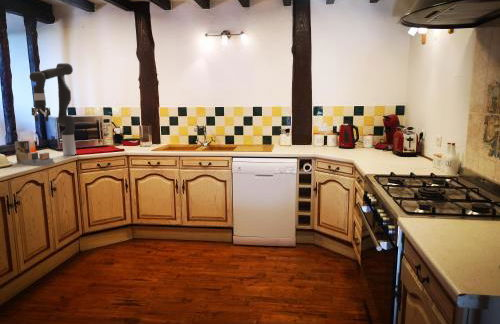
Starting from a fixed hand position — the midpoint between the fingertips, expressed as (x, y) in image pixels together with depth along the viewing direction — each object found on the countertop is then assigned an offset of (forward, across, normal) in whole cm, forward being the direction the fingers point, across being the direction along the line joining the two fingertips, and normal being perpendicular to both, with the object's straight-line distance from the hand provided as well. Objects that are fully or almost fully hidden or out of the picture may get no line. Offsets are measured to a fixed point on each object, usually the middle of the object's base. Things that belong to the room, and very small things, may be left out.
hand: (41, 121), depth 280 cm
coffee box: (+30, +9, +11) cm, 33 cm away
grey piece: (+30, -6, +13) cm, 33 cm away
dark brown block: (+29, -10, +13) cm, 33 cm away
